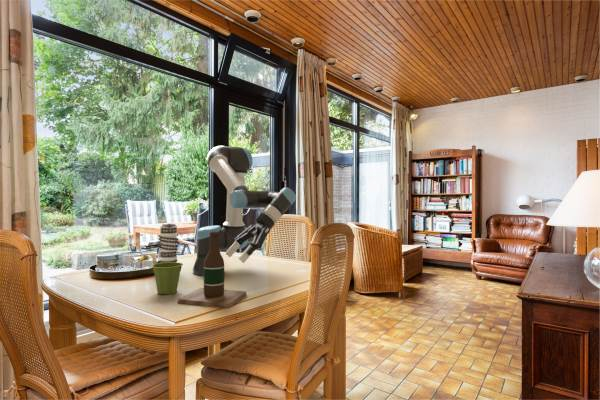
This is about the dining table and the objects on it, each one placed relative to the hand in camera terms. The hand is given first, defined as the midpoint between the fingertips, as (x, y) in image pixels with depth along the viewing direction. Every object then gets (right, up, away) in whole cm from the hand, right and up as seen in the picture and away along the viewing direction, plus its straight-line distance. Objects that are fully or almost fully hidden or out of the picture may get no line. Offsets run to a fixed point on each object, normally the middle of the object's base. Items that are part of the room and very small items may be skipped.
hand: (233, 257), depth 133 cm
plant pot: (-28, -15, +4) cm, 32 cm away
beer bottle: (-7, -14, -4) cm, 16 cm away
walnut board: (-7, -15, -4) cm, 17 cm away
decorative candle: (-40, -14, +36) cm, 55 cm away
